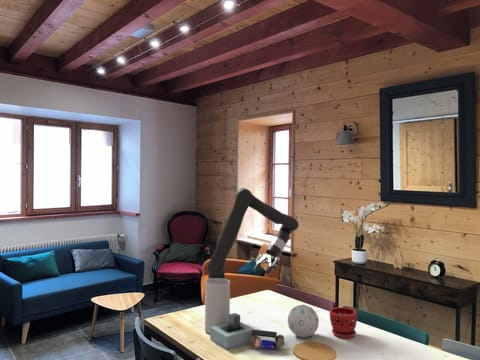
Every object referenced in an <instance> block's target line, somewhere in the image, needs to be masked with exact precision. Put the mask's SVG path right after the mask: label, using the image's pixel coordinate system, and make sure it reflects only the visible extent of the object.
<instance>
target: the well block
mask: <svg viewBox="0 0 480 360" xmlns="http://www.w3.org/2000/svg"><path fill="white" fill-rule="evenodd" d="M252 330H256V329H255V328H253V327H251V326H249V325H247V324H245V323H243V322H242V321H240V330H238V331H235V332H231V333H228V323H225V324H221V325H217V326H213V327H210V336H209V337H210V338H209V340H210V341H212V342H213V343H215V344H217V345H218V346H219V347H221V348H222V349H224V350H225V351H229V350H232V349H235V348H239V347H243V346H245V345H248V344H251V339H252V338H253V337H255V336H254V335H251V334H252Z"/></svg>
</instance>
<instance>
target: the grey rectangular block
mask: <svg viewBox="0 0 480 360" xmlns="http://www.w3.org/2000/svg"><path fill="white" fill-rule="evenodd" d="M240 322H241V314H238V313H236V312H234V313H230V314H229V315H228V333H231V332H235V331H238V330H240Z"/></svg>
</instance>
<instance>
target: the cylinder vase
mask: <svg viewBox="0 0 480 360" xmlns="http://www.w3.org/2000/svg"><path fill="white" fill-rule="evenodd" d="M204 289H205V290H204V293H205V294H204V296H205V297H204V301H205V302H204V303H205V304H204V330H205V333H207V334H210V327H213V326H217V325H221V324H225V323H228V315H229V314H231V312H230V311H231V310H230V309H231V308H230V307H231V305H230V302H231V301H230V300H231V281H230V280H229V279H227V278H225V279H222V278H214V279H208V278H207V279H206V280H205V287H204Z"/></svg>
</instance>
